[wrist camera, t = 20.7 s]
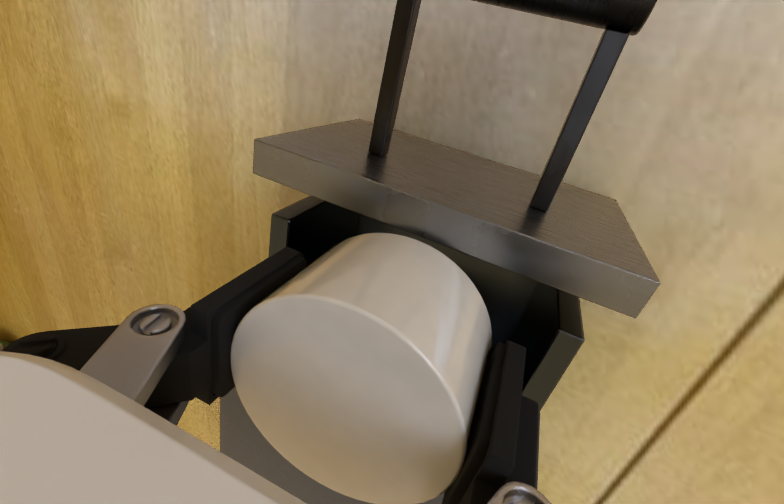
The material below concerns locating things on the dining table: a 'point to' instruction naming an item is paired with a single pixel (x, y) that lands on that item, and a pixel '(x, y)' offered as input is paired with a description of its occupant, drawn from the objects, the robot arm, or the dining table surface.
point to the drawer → (477, 202)
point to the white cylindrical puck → (368, 368)
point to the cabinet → (279, 457)
